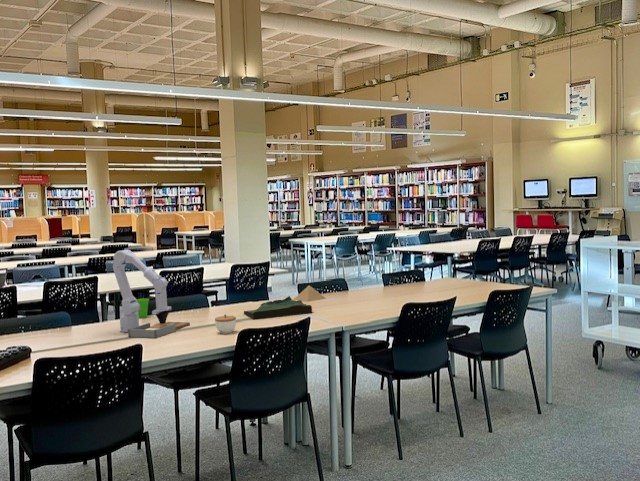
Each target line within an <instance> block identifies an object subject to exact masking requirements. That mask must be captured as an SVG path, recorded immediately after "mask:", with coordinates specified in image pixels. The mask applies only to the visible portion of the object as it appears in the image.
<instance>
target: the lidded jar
mask: <svg viewBox="0 0 640 481" xmlns="http://www.w3.org/2000/svg"><path fill="white" fill-rule="evenodd" d="M214 321H215V322H214V323H215V328H216V329H217V332H219V333H220V334H222V335H223V334H224V335H225V334H227V335H228V334H231V333H233V331H234V330H235V328H236V324H237V323H236V321H237V317H236V316H234V315H227V314H226V313H225V314H224V315H223V316H222V315H221V316H216V317H215V318H214Z"/></svg>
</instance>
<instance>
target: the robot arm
mask: <svg viewBox="0 0 640 481" xmlns="http://www.w3.org/2000/svg"><path fill="white" fill-rule="evenodd" d="M112 257H113V264H112V269H113V273H114V276H115V278H116V281H117V285H118V288H119V292H120V295H121V297H122V300H121V310H122V313H123V314H122V315H121V316H120V319H119V325H120V326H119V327H120V330H119V332H120V333H128V329H131V328H134V327H137V326H140V318H139V315H138V311H139V309H140V304H139V303H138V302H137V300H136V299H137V297H135V296H134V295H133V292H132V290H131V285H130V283H129V280H128V277H127V275H126V274H127V273H126V271H125V267H126V266H127V264H132V265H134V267H136V268H137V269H138V270H139V271H140V272H142V273H143V277H144V278H145V279H146V280H148V282H150V283H151V284H152V287H153V288H154V290H155V291H154V292H155V307H156V308H155V309H154V310H152V311H151V315H154V316H156V319H158V322H159V323H163V324H165V323H166V322H167V319H168V316H169V313H170V312H169V311H172V306H171V305H170V306H169V305H168V298H167V286H168V284H169V283H168V280H167V279H166V278H165V277H162V275H160V274H159V273H157V272H156V269H155V268H152V267H151V268H150V267H149V268H148V267H147V266H146V264H144V262H142V260H141V259H139V257H138V256H137V255H136V254H135V253H134V252H133V251H131V250H130V249H123V250H117V251H116V252H115V254H114V255H113V256H112Z"/></svg>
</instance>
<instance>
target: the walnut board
mask: <svg viewBox="0 0 640 481" xmlns="http://www.w3.org/2000/svg"><path fill="white" fill-rule="evenodd" d="M165 324H166V326H169V325H171V324H175V329H176V331H177V330H180V329H183V328H186V327H188V326H190V325H191V324H190V322H185V321H184V322H183V321H182V322H180V321H166V323H165Z"/></svg>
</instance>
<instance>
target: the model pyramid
mask: <svg viewBox="0 0 640 481" xmlns="http://www.w3.org/2000/svg"><path fill="white" fill-rule="evenodd" d="M326 299H327V298H326V297H325V296H324V295H322V294H321V293H320V292H319V291H317V290H316V289H315V288H314V287H312V286H311V285H308V286H306V288H304V289H303V290H302V291H301V292H300V293H299V294H297V296H295V297H294V298H293V299H292V300H295V301H298V300H301V301H302V302H307V303H308V302H309V303H310V302H313V301H320V300H326Z"/></svg>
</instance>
